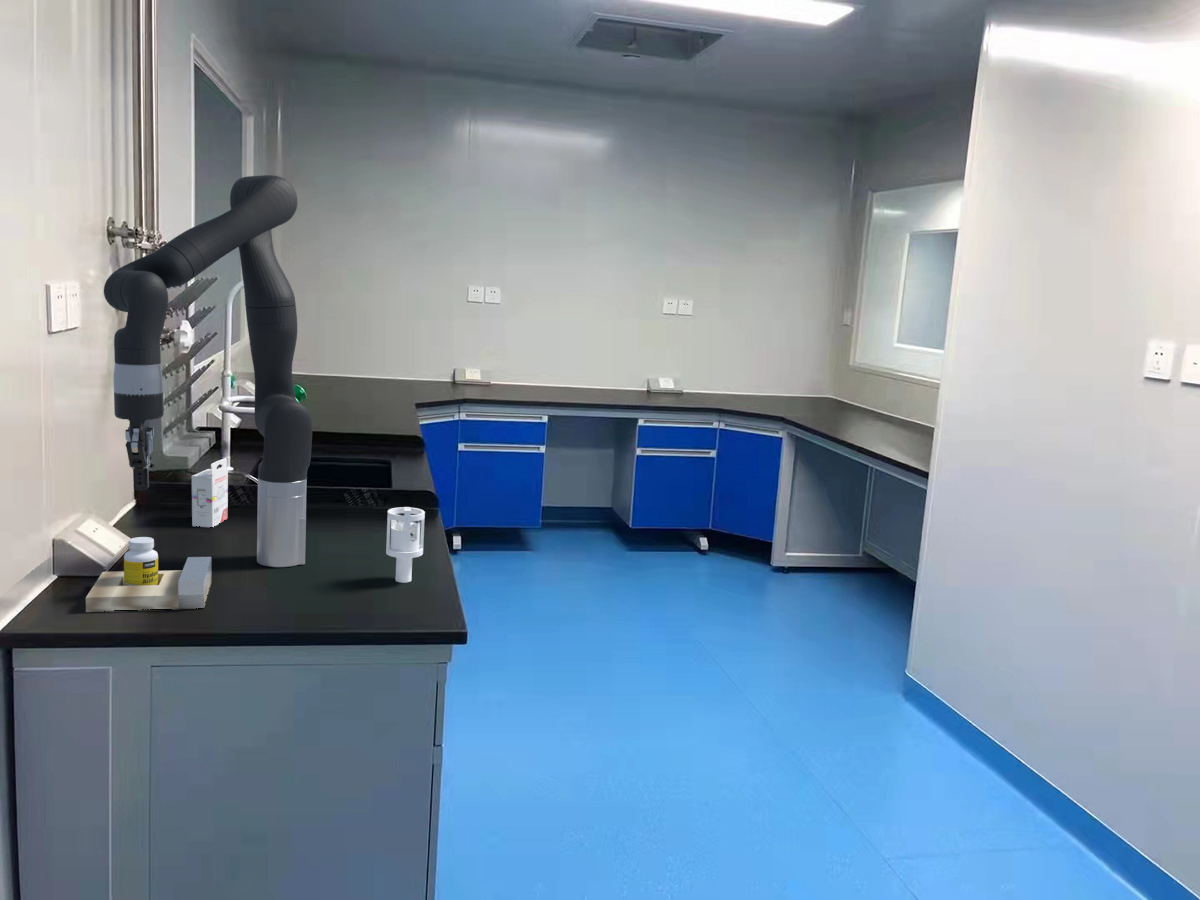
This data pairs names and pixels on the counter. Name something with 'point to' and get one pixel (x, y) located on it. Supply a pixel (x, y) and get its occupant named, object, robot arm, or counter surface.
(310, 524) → the counter surface
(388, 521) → the strainer
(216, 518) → the ink cartridge box
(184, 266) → the robot arm
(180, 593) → the jig
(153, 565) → the supplement bottle
